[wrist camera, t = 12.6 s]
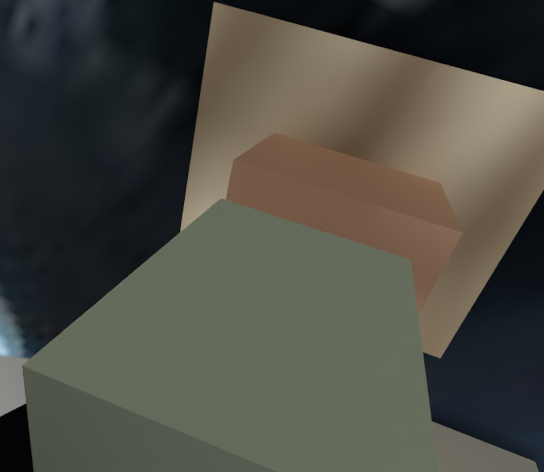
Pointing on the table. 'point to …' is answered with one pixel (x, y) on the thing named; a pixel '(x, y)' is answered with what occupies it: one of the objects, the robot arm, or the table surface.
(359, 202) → the terracotta brick
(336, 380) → the sage brick
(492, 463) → the cream brick
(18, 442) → the robot arm
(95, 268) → the table surface
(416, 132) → the birch board
